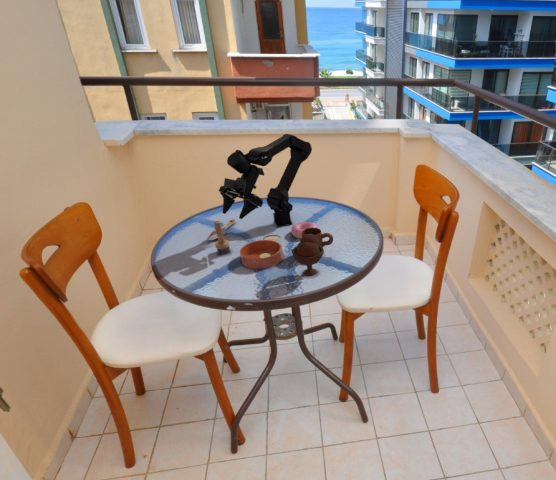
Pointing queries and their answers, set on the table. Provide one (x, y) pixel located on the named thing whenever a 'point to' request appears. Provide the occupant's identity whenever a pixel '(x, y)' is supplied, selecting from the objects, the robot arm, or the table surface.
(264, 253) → the biscuit piece
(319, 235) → the mug
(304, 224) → the doughnut
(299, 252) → the ice cream bowl
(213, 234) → the paintbrush
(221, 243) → the dish brush
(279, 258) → the terracotta bowl
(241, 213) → the robot arm
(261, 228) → the table surface
